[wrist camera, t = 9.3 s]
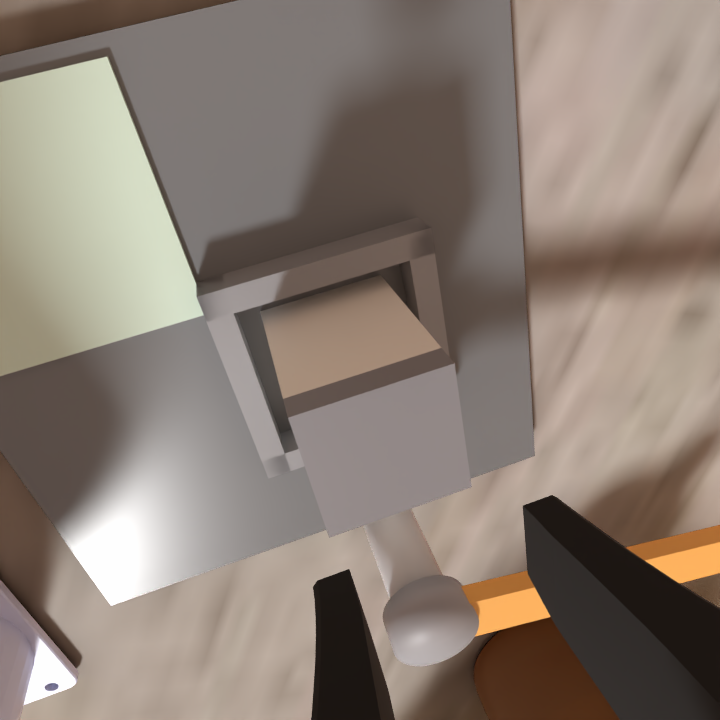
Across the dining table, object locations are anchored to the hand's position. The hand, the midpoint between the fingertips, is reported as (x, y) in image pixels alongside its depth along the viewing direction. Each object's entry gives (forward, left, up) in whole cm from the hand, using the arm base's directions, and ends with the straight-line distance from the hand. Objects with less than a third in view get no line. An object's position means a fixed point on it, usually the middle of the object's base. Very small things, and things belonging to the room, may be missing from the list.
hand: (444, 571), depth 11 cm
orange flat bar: (+5, -7, -3) cm, 9 cm away
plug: (0, 0, -10) cm, 10 cm away
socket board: (-2, +1, -10) cm, 11 cm away
